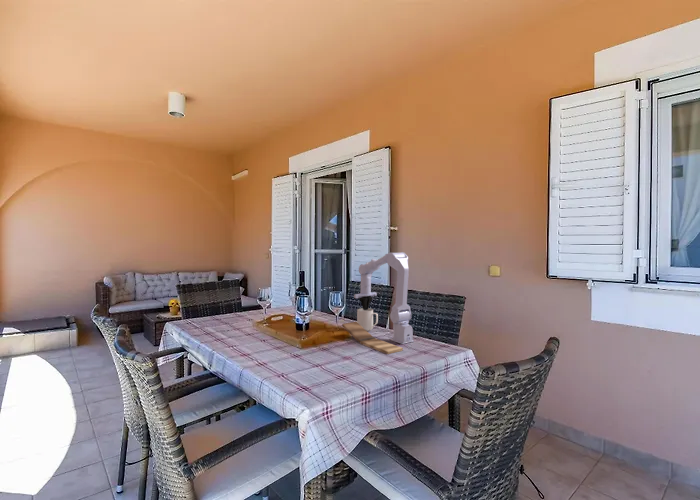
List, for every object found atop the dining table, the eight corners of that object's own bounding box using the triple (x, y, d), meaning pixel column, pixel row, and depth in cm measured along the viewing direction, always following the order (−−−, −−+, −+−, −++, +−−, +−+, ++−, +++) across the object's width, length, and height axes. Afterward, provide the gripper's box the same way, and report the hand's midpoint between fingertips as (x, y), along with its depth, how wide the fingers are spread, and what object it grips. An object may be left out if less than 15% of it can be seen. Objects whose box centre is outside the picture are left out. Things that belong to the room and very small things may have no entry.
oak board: (402, 350, 167) (402, 347, 167) (388, 354, 161) (388, 350, 161) (374, 340, 183) (374, 337, 183) (360, 343, 177) (360, 340, 177)
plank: (373, 339, 183) (374, 337, 183) (359, 342, 178) (360, 340, 177) (355, 323, 195) (356, 321, 194) (342, 325, 190) (342, 323, 189)
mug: (354, 330, 203) (354, 310, 202) (361, 326, 210) (361, 307, 210) (374, 333, 197) (374, 312, 196) (380, 329, 205) (380, 309, 204)
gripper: (371, 283, 211) (370, 307, 212) (351, 285, 203) (350, 309, 204) (379, 285, 206) (378, 309, 207) (358, 287, 197) (358, 312, 198)
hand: (365, 309), depth 205 cm, fingers closed, pressing on mug
